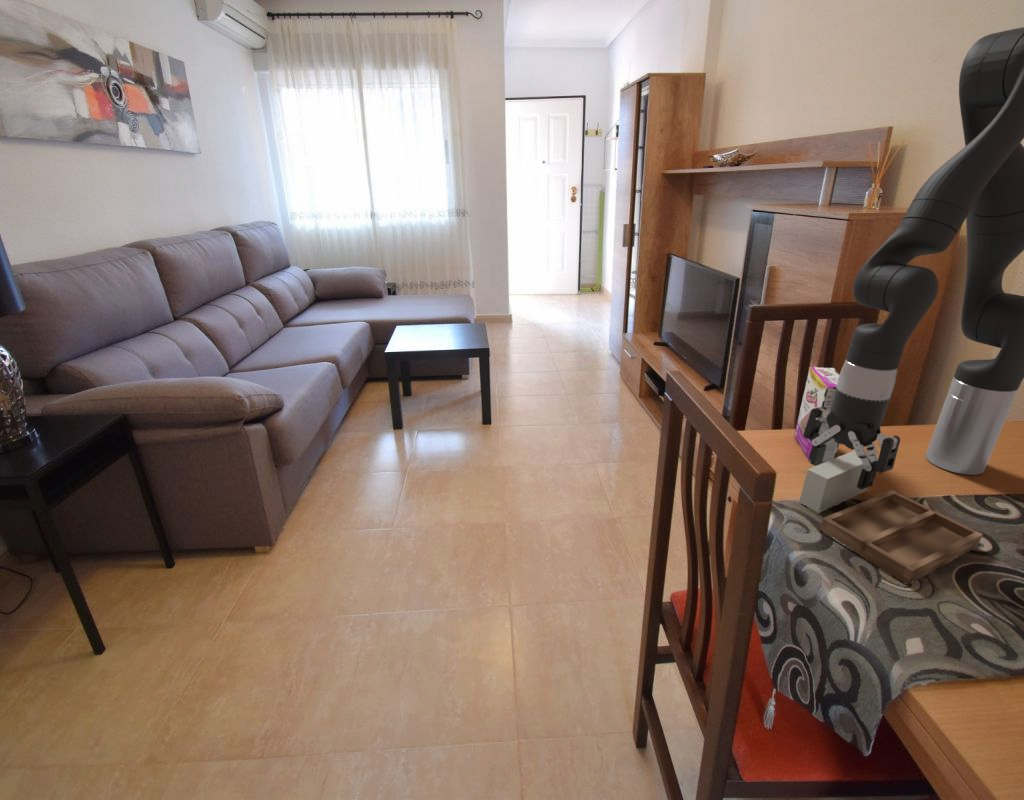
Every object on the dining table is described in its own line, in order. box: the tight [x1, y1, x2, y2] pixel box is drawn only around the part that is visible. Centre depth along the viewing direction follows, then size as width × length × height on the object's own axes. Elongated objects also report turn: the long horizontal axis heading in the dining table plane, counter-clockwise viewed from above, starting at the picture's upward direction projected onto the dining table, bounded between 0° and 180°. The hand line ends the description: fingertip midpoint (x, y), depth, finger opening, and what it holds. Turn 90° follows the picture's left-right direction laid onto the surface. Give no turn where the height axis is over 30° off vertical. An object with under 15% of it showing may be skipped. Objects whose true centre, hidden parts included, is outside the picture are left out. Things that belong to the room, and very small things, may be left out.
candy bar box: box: [793, 366, 840, 464], centre depth 106 cm, size 11×5×16 cm, turn 168°
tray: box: [819, 489, 983, 585], centre depth 82 cm, size 18×13×2 cm
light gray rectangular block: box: [798, 449, 868, 512], centre depth 92 cm, size 14×4×7 cm, turn 119°
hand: (838, 475), depth 92 cm, fingers open, 8 cm apart
